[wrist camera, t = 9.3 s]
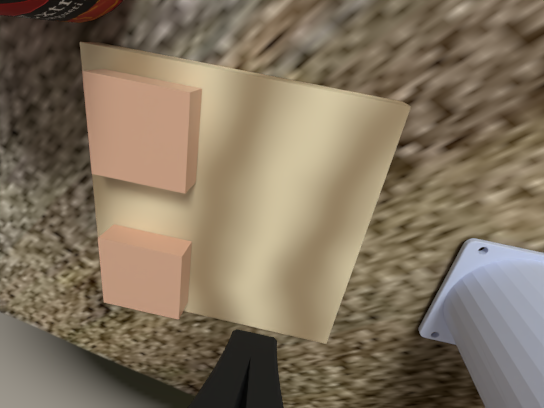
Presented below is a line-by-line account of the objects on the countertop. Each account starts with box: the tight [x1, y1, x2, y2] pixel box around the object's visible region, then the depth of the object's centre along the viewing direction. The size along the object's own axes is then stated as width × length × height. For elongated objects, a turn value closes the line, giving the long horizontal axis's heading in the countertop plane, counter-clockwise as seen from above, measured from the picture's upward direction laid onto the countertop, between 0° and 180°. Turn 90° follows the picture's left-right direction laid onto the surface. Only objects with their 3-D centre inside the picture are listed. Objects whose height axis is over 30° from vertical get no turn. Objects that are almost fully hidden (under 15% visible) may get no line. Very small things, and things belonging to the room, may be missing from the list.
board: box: [80, 42, 411, 344], centre depth 19 cm, size 16×16×2 cm
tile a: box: [82, 69, 202, 194], centre depth 16 cm, size 2×5×5 cm
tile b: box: [98, 224, 192, 320], centre depth 20 cm, size 2×5×5 cm
